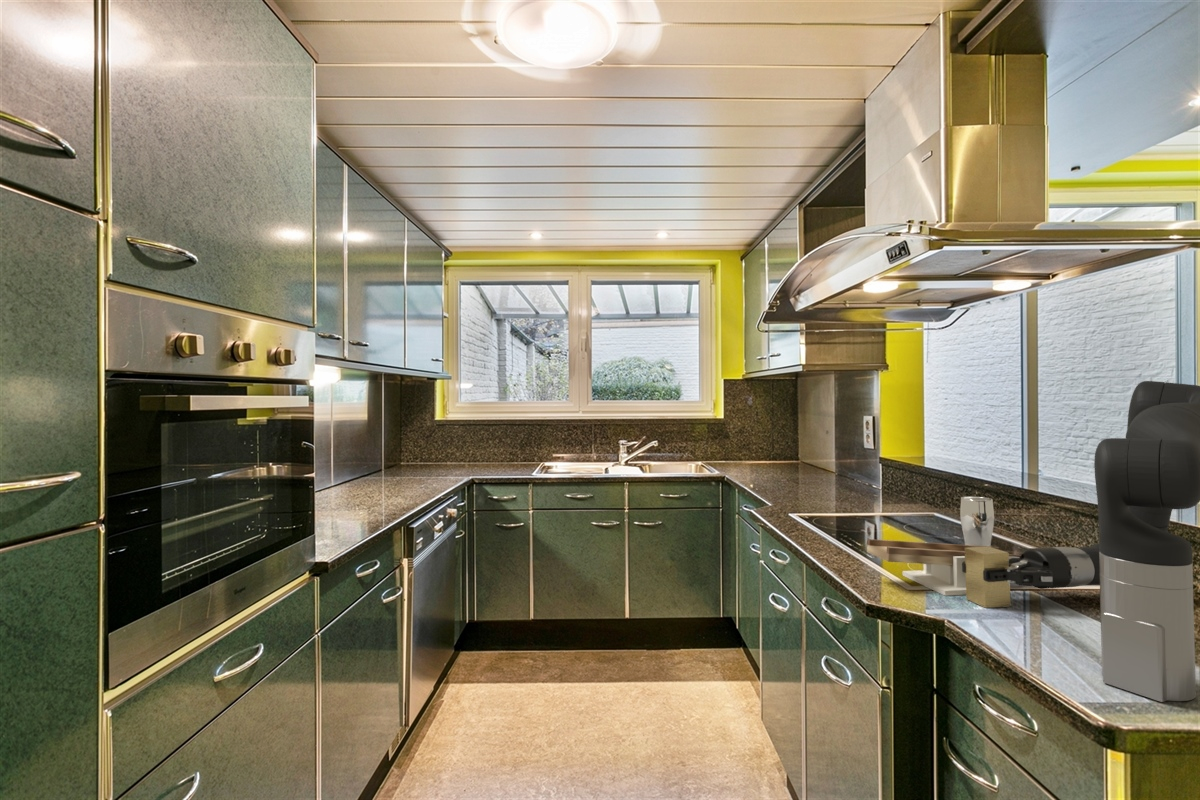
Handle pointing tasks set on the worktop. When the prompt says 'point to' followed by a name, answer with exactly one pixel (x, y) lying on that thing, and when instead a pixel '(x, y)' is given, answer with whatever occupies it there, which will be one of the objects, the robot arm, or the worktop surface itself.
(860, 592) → the worktop surface
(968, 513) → the beer glass
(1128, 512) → the robot arm
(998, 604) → the block
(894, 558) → the balance beam
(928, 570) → the beam stand
